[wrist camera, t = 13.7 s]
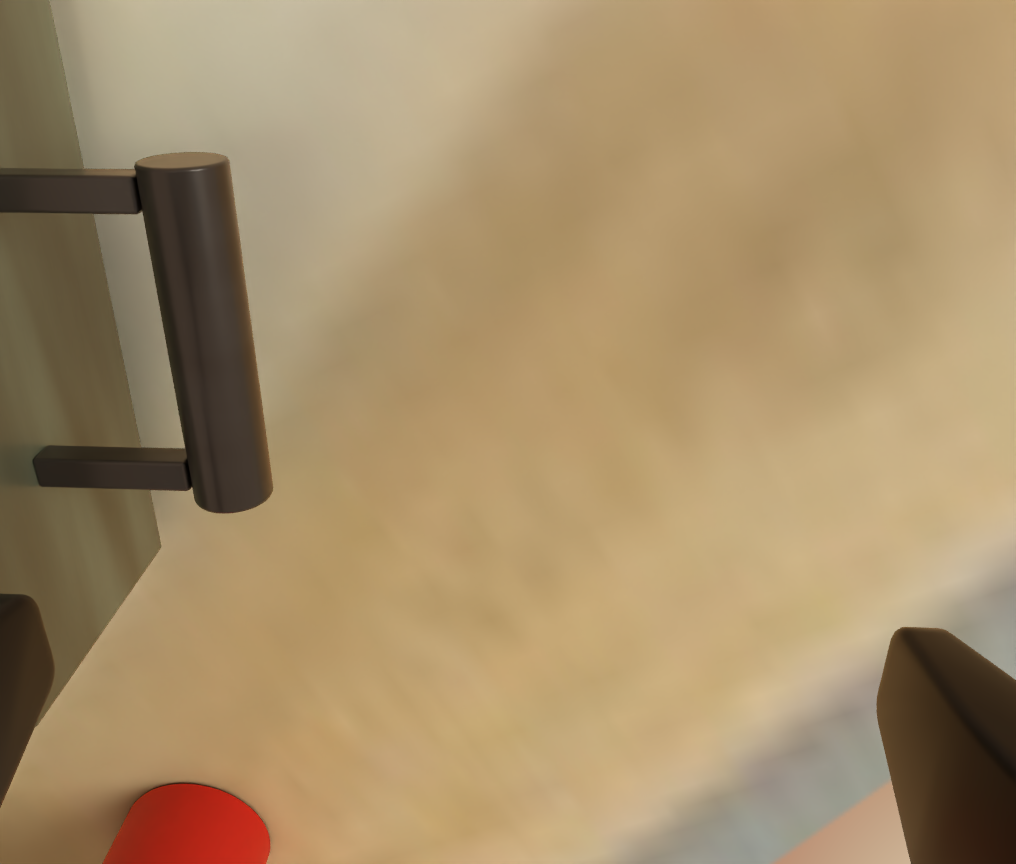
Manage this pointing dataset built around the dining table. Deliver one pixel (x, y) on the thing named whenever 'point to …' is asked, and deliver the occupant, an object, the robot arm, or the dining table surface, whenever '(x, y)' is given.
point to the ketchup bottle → (190, 829)
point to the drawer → (107, 353)
